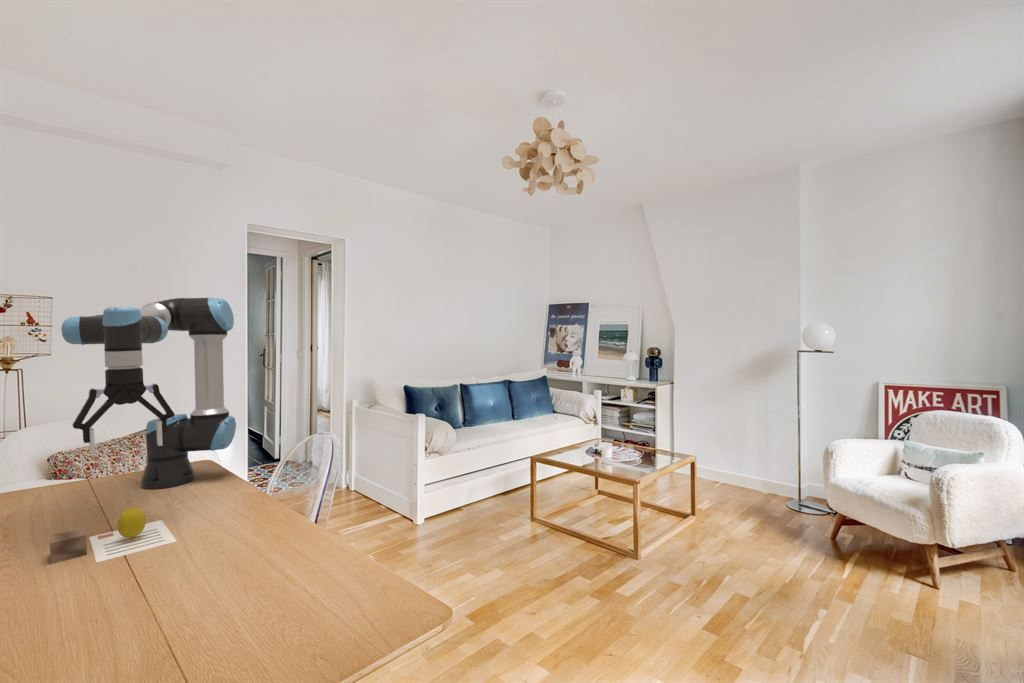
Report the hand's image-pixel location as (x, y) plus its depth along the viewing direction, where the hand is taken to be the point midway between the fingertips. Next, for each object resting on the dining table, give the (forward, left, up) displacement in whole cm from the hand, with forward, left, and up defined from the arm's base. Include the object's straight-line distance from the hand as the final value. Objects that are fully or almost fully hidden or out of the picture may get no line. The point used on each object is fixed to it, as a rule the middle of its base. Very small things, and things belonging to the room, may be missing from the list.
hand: (127, 450), depth 123 cm
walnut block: (+12, +5, -22) cm, 25 cm away
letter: (0, +5, -22) cm, 22 cm away
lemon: (0, +5, -22) cm, 22 cm away
